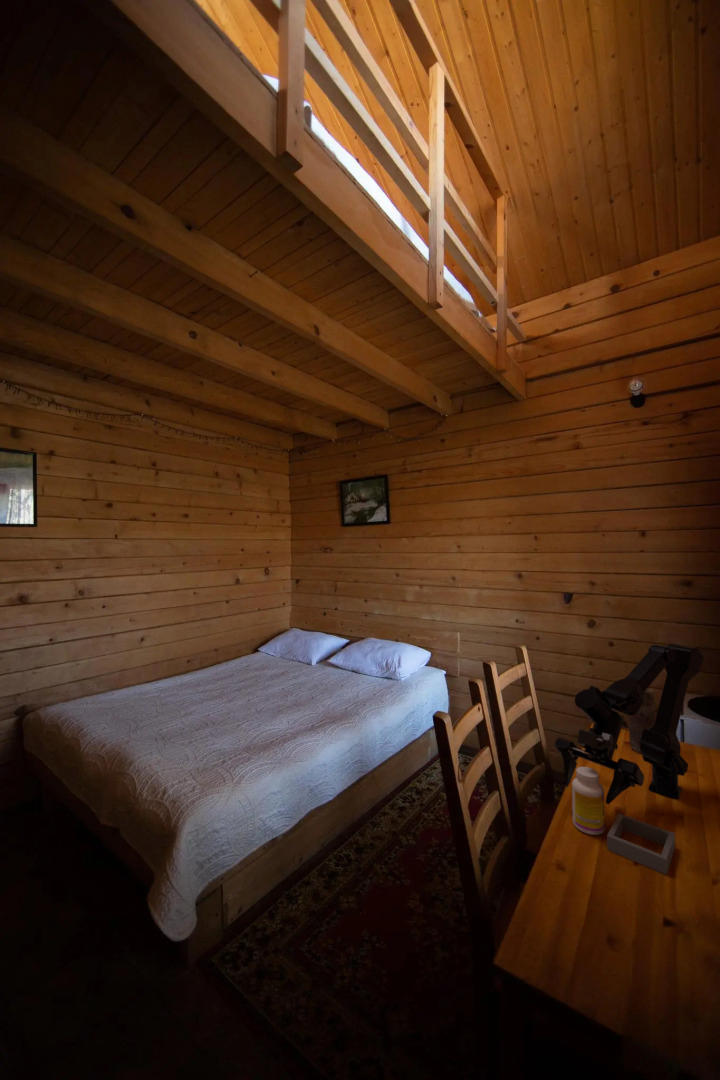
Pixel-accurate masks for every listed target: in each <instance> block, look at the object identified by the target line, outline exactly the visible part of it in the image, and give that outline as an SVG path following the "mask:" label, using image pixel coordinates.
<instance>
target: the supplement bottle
mask: <svg viewBox="0 0 720 1080" xmlns="http://www.w3.org/2000/svg"><path fill="white" fill-rule="evenodd" d="M575 770H576V773H575V775H576V777H575V778H574V779H573V780H572V783H571V785H572V786H571V789H572V790H571V794H572V795H571V796H572V797H571V798H572V799H571V800H572V802H571V803H572V823H573V825H574V827H575V828H576V829H578V830H579V831H581V832H583V833H584V834H587V835H592V836H599V835H602V834H603V833H605V830H606V825H605V824H606V822H605V821H606V819H605V789H604V786H603V785H602V784H601V782H599V780H600V774H599V772H598V771H597V770H596V769H594V768H592V767H589V766H588V767H587V766H578V767H576V769H575Z"/></svg>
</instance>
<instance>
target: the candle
mask: <svg viewBox="0 0 720 1080" xmlns="http://www.w3.org/2000/svg"><path fill="white" fill-rule="evenodd" d="M655 719H656V703H655V690H654V689H653V688H649V687H648V688H647V689H646V691H645V692H644V702H643V704H642V706H641V707H640V709H639V711H638V712H637V713H636V714H635V715H633V716H632V715H628V733H629V734H628V736H629V746H630V748H631V749H633V750H634V751H635V752H636V753H638V754H640V755H642V753H641V750H640V743H639V742H640V740H641V737H642V731H643V730H644V729H649V728H651V727H652V726H653V725H654V723H655Z"/></svg>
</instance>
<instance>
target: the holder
mask: <svg viewBox="0 0 720 1080" xmlns="http://www.w3.org/2000/svg"><path fill="white" fill-rule="evenodd" d="M623 831H625V832H627V833H630V834H633V835H636V836H638V837H640V838H643V839H646V840H648V841H650V842H653V843H655V844H658V845H661V846H663V848H662V852H661V854H660V853H657V852H655V851H653V850H651V849H647V848H646V847H643V846H640V845H638V844H636V843H632V842H631V841H628V840H625V839H623V838H622V837H621V836H622V833H623ZM620 837H621V838H620ZM606 849H607V851H610V852H612V853H614V854H616V855H618V856H621V857H623V858H626V859H628V860H629V861H630V860H631V861H633V862H635V863H638V864H640V865H642V866H645V867H646V868H649V869H652V870H654V871H656V872H658V873H661V874H663V875H665V876H667V875H668V872H669V869H670V866H671V863H672V859H673V856H674V852H675V849H676V834H675V833H674V832H671V831H668V830H667V829H663V828H661V827H658V826H655V825H652V824H650V823H648V822H645V821H642V820H639V819H636V818H634V817H631V816H629V815H625V814H623V813H620V812H619V813H618V814H617V816H616V818H615V819H614V821H613V824H612V825H611V828H610V829H609V831H608V832H607V835H606Z"/></svg>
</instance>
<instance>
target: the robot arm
mask: <svg viewBox="0 0 720 1080" xmlns="http://www.w3.org/2000/svg"><path fill="white" fill-rule="evenodd" d="M704 658H705V657H704V655H703V653H702V652H701V651H700V649H699V648H698V647H693V646H690V645H689V646H688V645H684V644H678V643H673V642H671V643H669V644H667V645H663V644H662V645H661V644H657V643H656V644H651V645H650V646H649V648H648V652H647V653H646V654H645V655H644V656H643V657H642V658H641V660H640V661H639V662H638V663H637V664H636V665H635V666H634V667H633V669H632V670H631V671H630V672H629V673H628V674H627V676H626V677H624V678H621V679H619V680H615V681H614V682H613V683H611V684H610V685H609V686H607V687H606V688H605V689H604V690H602V691H601V690H600V688H599V687H596V686H594V685H590V686H589V688H585V689H582V690H581V691H579V692H578V693H577V694H575V697H574V704H575V706H576V707H577V708H578V709H579V710H580V711H581V712H582V713H583V715H585V716H586V718H588V719H589V721H591V722H593V724H592V727H589V729H588V730H584V729H581V728H579V729H578V733H577V734H578V735H577V741H576V743H578V744H581V747H582V748H583V749H582V748H578V747H577V745H576V744H575V743H574V741H572V740H570V739H567V738H564V737H561V736H559V737H557V738H555V739H554V740H555V741H554V743H553V747H554V748H555V749H556V751H557V752H558V753H559V755H560V756H561V757H562V760H563V771H564V772H563V773H564V774H563V777H564V786H565V787H566V788H568V787H569V785H570V783H571V781H572V779H573V776H574V773H575V770H576V769H577V765H578V763H577V761H576V760H578V758H581V759H582V760H586V761H589V762H591V763H594V764H597V765H600V766H602V767H605V768H607V769H611V770H613V777H612V781H611V783H610V786H609V788H608V791H607V794H606V798H605V804H606V805H610V804H611V803H612V802H613V801H615V799H616V798H617V797H618V796H620V795H621V794H622V793H623V792H624V791H625V790H627V789H628V788H630V787H632V788H635V787H636V785H637V786H639V787H643V785H644V782H645V774H644V773H643V772H642V770H641V768H640V766H639V765H638V764H637V763H636V762H633V761H630V760H627V759H624V758H621V757H620V758H618V760H617V761H615V760H614V759H613V757H614V754H615V750H616V751H617V750H618V747H619V745H618V739H619V738H620V734H621V731H622V728H628V723H627V721H626V720H625V718H624V715H627V716H629V715H632V716H633V715H635V714H636V713H637V712H638V711H639V709H640V707H641V706H642V704H643V702H644V692H645V691H646V689H647V688H649V687H650V686H651V684H653V682H654V681H655V680H656V679H657V678H658V677H659V675H661V673H662V672H663V670H665V673H666V675H665V679H664V684H663V688H662V691H661V695H660V698H659V703H658V707H657V712H656V714H655V723H654V725H653V726H652V727H651V728H649V729H644V730H643V731H642V737H641V740H640V742H639V743H640V750H641V753H642V754H641V755H642V756H641V757H642V759H643V761H644V762H646V763H649V764H650V765H651V779H652V780H651V782H650V784H649V786H648V790H649V791H651V792H653V793H657V794H660V795H663V796H666V797H670V798H672V799H676V800H677V799H679V798H680V797H681V794H682V793H681V792H682V791H683V787H682V786H679V776H683V777H684V776H685V774H687V773H688V768H689V764H688V762H687V761H686V760H685V759H684V758H683V756H681V748H682V747H681V744H680V741H679V738H678V736H677V735H678V734H677V731H678V726H679V722H680V719H681V714H682V710H683V706H684V702H685V697H686V693H687V689H688V686H689V682H690V680H691V679H693V678H694V677H696V676H697V675H698V674H699V673H700V670H701V667H702V665H703V663H704V661H705V660H704ZM618 712H620V713H622V714H624V715H620V714H619V713H618Z"/></svg>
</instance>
